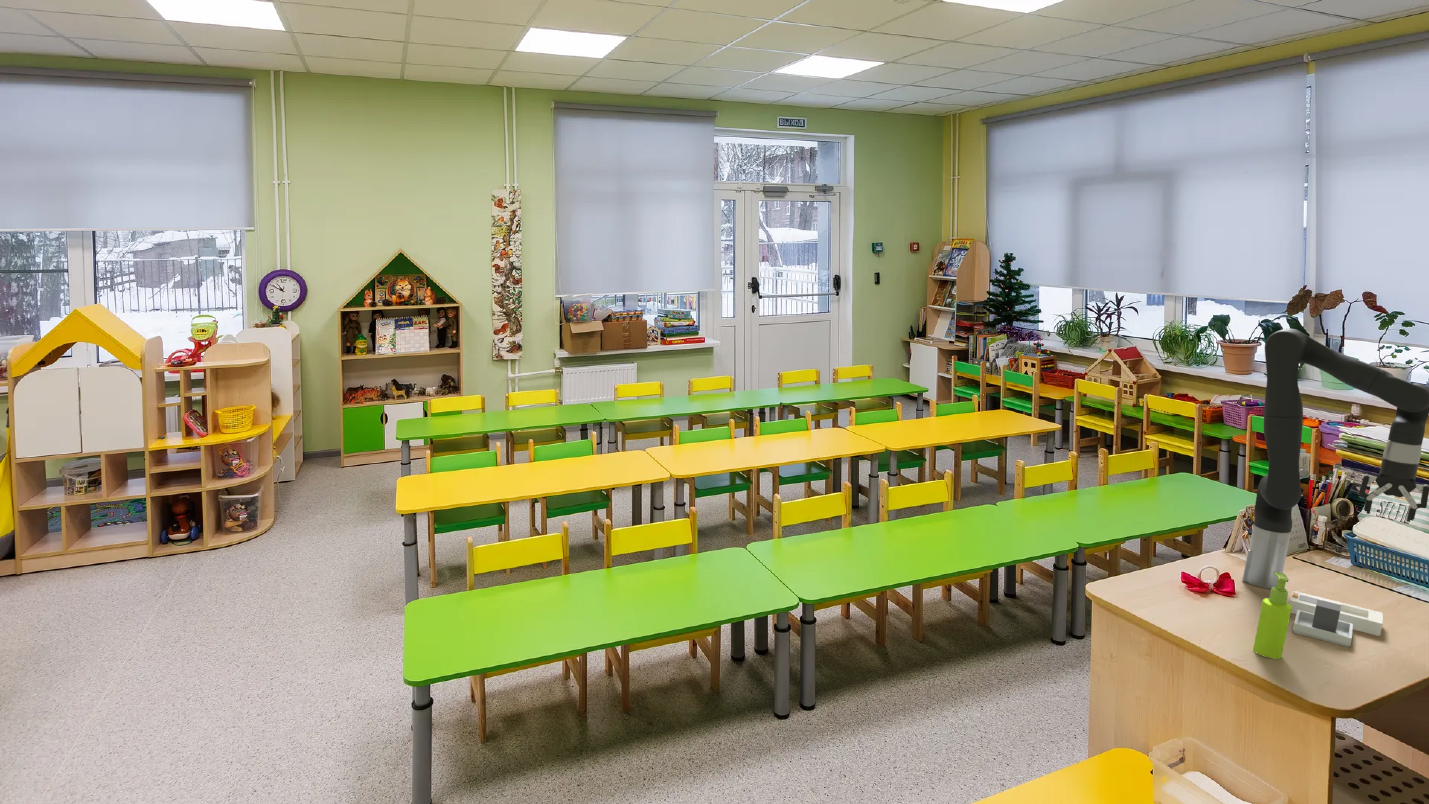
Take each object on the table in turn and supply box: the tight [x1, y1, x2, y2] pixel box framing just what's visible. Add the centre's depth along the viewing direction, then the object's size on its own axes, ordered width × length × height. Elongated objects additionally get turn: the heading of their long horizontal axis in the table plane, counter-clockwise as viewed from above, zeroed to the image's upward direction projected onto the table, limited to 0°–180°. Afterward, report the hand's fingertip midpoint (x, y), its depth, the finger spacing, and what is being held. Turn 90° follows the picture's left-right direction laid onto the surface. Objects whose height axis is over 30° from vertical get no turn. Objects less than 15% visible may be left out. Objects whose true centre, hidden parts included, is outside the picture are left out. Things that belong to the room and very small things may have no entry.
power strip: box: [1289, 590, 1384, 637], centre depth 228 cm, size 20×9×4 cm, turn 52°
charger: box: [1312, 599, 1341, 633], centre depth 219 cm, size 5×7×7 cm
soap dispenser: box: [1252, 572, 1292, 660], centre depth 205 cm, size 6×7×20 cm
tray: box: [1292, 610, 1354, 649], centre depth 219 cm, size 12×11×2 cm
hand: (1387, 517), depth 226 cm, fingers open, 8 cm apart
